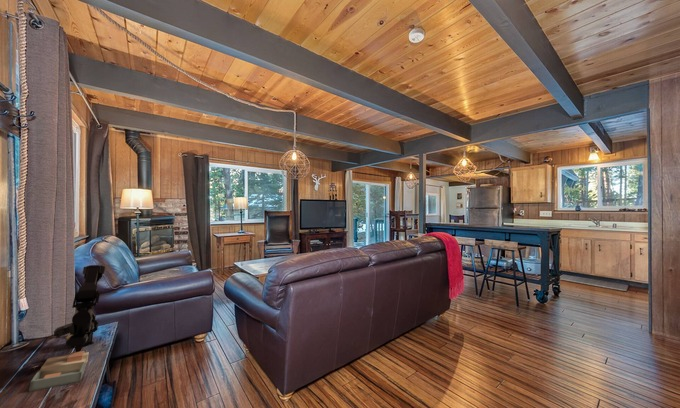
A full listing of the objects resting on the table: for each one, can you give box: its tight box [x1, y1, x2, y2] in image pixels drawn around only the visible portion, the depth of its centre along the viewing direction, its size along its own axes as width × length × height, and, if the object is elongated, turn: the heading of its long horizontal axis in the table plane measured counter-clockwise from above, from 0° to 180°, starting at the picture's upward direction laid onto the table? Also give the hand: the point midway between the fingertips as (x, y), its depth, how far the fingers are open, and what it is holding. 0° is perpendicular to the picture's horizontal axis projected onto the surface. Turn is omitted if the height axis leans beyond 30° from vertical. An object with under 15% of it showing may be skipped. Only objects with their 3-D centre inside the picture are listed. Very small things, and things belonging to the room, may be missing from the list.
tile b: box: [44, 372, 61, 378], centre depth 104 cm, size 4×4×2 cm
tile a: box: [67, 350, 86, 362], centre depth 115 cm, size 4×4×2 cm
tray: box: [28, 363, 87, 393], centre depth 106 cm, size 8×14×4 cm, turn 125°
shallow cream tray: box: [39, 351, 90, 378], centre depth 113 cm, size 9×13×4 cm
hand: (77, 352), depth 117 cm, fingers closed
